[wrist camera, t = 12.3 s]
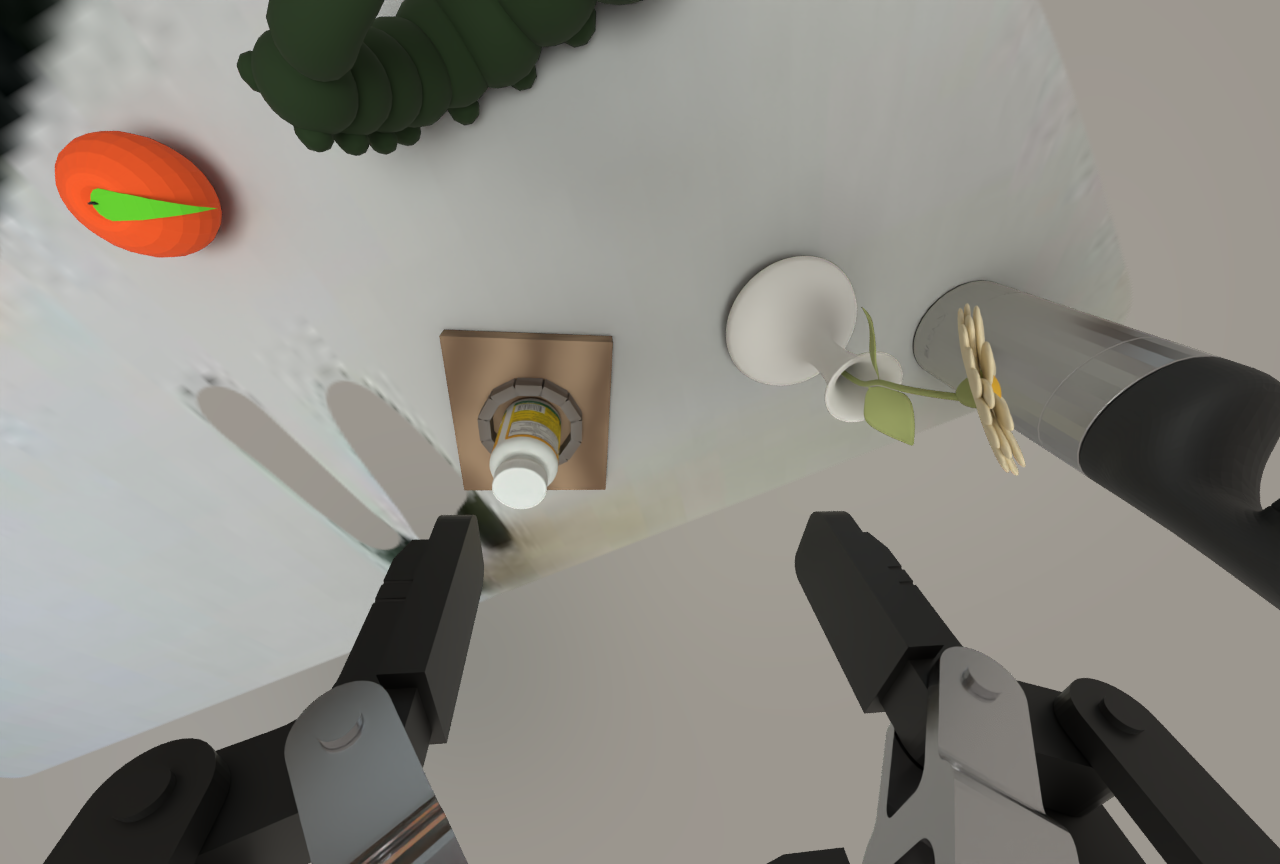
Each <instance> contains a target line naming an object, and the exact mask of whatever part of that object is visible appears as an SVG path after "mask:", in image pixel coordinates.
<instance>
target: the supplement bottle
mask: <svg viewBox="0 0 1280 864" xmlns="http://www.w3.org/2000/svg"><path fill="white" fill-rule="evenodd" d="M560 437H561V419H560V416H559V414H558V412H557V411H556V410H555V408H554V407H552V406H551V405H550V404H549V403H547V402H545V401H543V400H539V399H535V398H526V399H521V400H518V401H516V402H514V403H512V404H511V405H510V406H509V407H508V408H507V409H506V411H505V413H504V415H503V418H502V421H501V424H500V427H499V431H498V434H497V437H496V440H495V444H494V447H493V450H492V453H491V457H490V471H491V474H492V476H493V482H492V490H493V493H494V495H495V497H496V498H497V500H498V501H500V502H501V503H502V504H504V505H506V506H508V507H511V508H515V509H527V508H531V507H534V506H536V505H537V504H539V503H540V502H541V501H542V500H543V499H544V497H545V495H546V492H547V486H549V485H550V484H551V483H552V481H553V480H554V478H555V476H556V474H557V470H558V463H559V450H560Z"/></svg>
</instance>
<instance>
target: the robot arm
mask: <svg viewBox="0 0 1280 864" xmlns="http://www.w3.org/2000/svg"><path fill="white" fill-rule="evenodd" d="M965 304H969V306H970V312H971V317H972V319H973V310H974V307H975V306H978V307H979V309H980V313H981V317H982V320H983V325H984V336H985V341H987V342H989V344H990V346H991V349H992V353H993V357H994V360H995V364H996V376H995V377H996V378H997V380H998V382H999V384H1000V387H1001V396H1002V397H1003V398H1004V400H1005V401H1006V403H1007V405H1008V408H1009V411H1010V414H1011V416H1012V420H1013V423H1014V429H1015V430H1016V431H1018V432H1019V433H1021V434H1023V435H1024V436H1026V437H1027V438H1029V439H1030V440H1032V441H1033V442H1035V443H1036V444H1038V445H1039V446H1041V447H1042V448H1044V449H1045V450H1047V451H1048V452H1050V453H1052V454H1053V455H1055V456H1056V457H1058V458H1059V459H1061V460H1063V461H1064V462H1065V463H1067V464H1069V465H1070V466H1072V467H1073V468H1075V469H1076V470H1078V471H1079V472H1081V473H1082V474H1084V475H1085V476H1087V477H1088V478H1090V479H1092V480H1093V481H1095V482H1096V483H1098V484H1099V485H1101V486H1102V487H1104V488H1106V489H1107V490H1109V491H1110V492H1112V493H1114V494H1115V495H1117V496H1118V497H1120V498H1121V499H1123V500H1124V501H1126V502H1128V503H1129V504H1130V505H1132V506H1134V507H1135V508H1137V509H1138V510H1140V511H1141V512H1143V513H1144V514H1146V515H1147V516H1149V517H1150V518H1152V519H1153V520H1155V521H1156V522H1158V523H1159V524H1161V525H1162V526H1164V527H1165V528H1167V529H1168V530H1170V531H1171V532H1173V533H1174V534H1176V535H1177V536H1178V537H1180V538H1181V539H1183V540H1184V541H1185V542H1187V543H1188V544H1190V545H1191V546H1193V547H1194V548H1196V549H1197V550H1198V551H1200V552H1201V553H1202V554H1204V555H1205V556H1207V557H1208V558H1210V559H1211V560H1212V561H1214V562H1215V563H1216V564H1218V565H1219V566H1220V567H1222V568H1223V569H1225V570H1226V571H1227V572H1229V573H1230V574H1232V575H1233V576H1234V577H1235V578H1237V579H1238V580H1240V581H1241V582H1242V583H1244V584H1245V585H1246V586H1248V587H1249V588H1250V589H1252V590H1253V591H1255V592H1256V593H1257V594H1259V595H1260V596H1261V597H1263V598H1264V599H1265V600H1267V601H1268V602H1269V603H1271V604H1272V605H1274V606H1275V607H1276V608H1278V609H1279V610H1280V499H1278V500H1277V501H1275V502H1274V503H1273V504H1272V505H1271V506H1269V507H1267V508H1265V509H1264V510H1262V507H1261V504H1260V482H1261V478H1262V474H1263V470H1264V468H1265V465H1266V463H1267V460H1268V458H1269V456H1270V454H1271V452H1272V451H1273V449H1274V447H1275V445H1276V443H1277V441H1278V439H1279V437H1280V382H1279V381H1277V380H1276V379H1275V378H1273V377H1272V376H1270V375H1268V374H1266V373H1264V372H1261V371H1259V370H1257V369H1255V368H1251V367H1248V366H1245V365H1242V364H1239V363H1236V362H1233V361H1230V360H1227V359H1224V358H1221V357H1218V356H1215V355H1212V354H1209V353H1206V352H1203V351H1200V350H1197V349H1194V348H1191V347H1188V346H1185V345H1182V344H1179V343H1176V342H1173V341H1170V340H1167V339H1163V338H1160V337H1157V336H1154V335H1151V334H1148V333H1145V332H1142V331H1139V330H1136V329H1133V328H1130V327H1127V326H1124V325H1121V324H1118V323H1115V322H1112V321H1109V320H1106V319H1103V318H1100V317H1097V316H1094V315H1091V314H1088V313H1085V312H1082V311H1079V310H1076V309H1073V308H1070V307H1067V306H1064V305H1061V304H1058V303H1055V302H1052V301H1049V300H1046V299H1043V298H1040V297H1037V296H1034V295H1031V294H1028V293H1025V292H1022V291H1019V290H1016V289H1013V288H1010V287H1007V286H1004V285H1001V284H998V283H994V282H991V281H975V282H970V283H967V284H964V285H961V286H959V287H957V288H955V289H953V290H952V291H950V292H948V293H947V294H946V295H944V296H943V297H942V298H940V299H939V300H938V301H937V302H936V303H935V304H934V305H933V306H932V307H931V308H930V309H929V311H928V312H927V313H926V315H925V316H924V318H923V319H922V321H921V323H920V325H919V327H918V329H917V332H916V335H915V339H914V355H915V358H916V360H917V362H918V364H919V365H920V366H921V367H922V368H923V369H924V370H926V371H927V372H929V373H930V374H932V375H933V376H935V377H936V378H938V379H939V380H941V381H942V382H944V383H945V384H947V385H948V386H950V387H951V388H952V389H954V390H955V391H956V389H957V387H958V386H959V384H960V383H961V382H962V381H963V380H965V379H966V378H967V374H966V370H965V366H964V362H963V358H962V354H961V349H960V342H959V334H958V320H957V317H958V310H959V308H961V309H962V310H963V313H964V307H965ZM795 570H796V574H797V578H798V580H799V582H800V584H801V586H802V588H803V590H804V593H805V595H806V596H807V599H808V601H809V603H810V604H811V606H812V609H813V611H814V613H815V615H816V617H817V619H818V621H819V623H820V625H821V627H822V629H823V631H824V633H825V635H826V637H827V639H828V641H829V643H830V645H831V647H832V649H833V651H834V653H835V655H836V657H837V659H838V661H839V663H840V665H841V667H842V669H843V671H844V673H845V675H846V677H847V679H848V681H849V683H850V685H851V687H852V689H853V691H854V693H855V695H856V698H857V700H858V701H859V704H860V706H861V708H862V710H863V712H864V713H876V712H886V714H887V716H888V718H889V720H890V721H891V723H890V725H889V727H888V729H887V733H886V740H885V749H884V758H883V766H882V776H881V784H880V792H879V801H878V809H877V817H876V823H875V827H874V830H873V833H872V836H871V838H870V840H869V843H868V845H867V848H866V851H865V855H864V858H863V862H862V864H1146V863H1145V862H1144V860H1143V859H1142V858H1141V857H1140V855H1139V854H1138V852H1137V851H1136V850H1135V848H1134V847H1133V846H1132V844H1131V843H1130V842H1129V840H1128V839H1127V838H1126V836H1125V835H1124V834H1123V832H1122V831H1121V830H1120V828H1119V827H1118V825H1117V824H1116V823H1115V821H1114V820H1113V819H1112V817H1111V816H1110V815H1109V813H1108V812H1107V811H1106V809H1105V808H1104V807H1103V805H1102V804H1103V803H1105V802H1106V801H1108V800H1109V799H1111V798H1112V797H1114V796H1115V797H1116V798H1117V799H1118V800H1119V802H1120V803H1121V805H1122V806H1123V807H1124V808H1125V810H1126V811H1127V812H1128V814H1129V815H1130V816H1131V818H1132V819H1133V820H1134V821H1135V823H1136V824H1137V825H1138V826H1139V828H1140V829H1141V831H1142V832H1143V833H1144V834H1145V836H1146V837H1147V838H1148V840H1149V841H1150V842H1151V843H1152V845H1153V846H1154V847H1155V849H1156V850H1157V851H1158V853H1159V854H1160V855H1161V856H1162V858H1163V859H1164V860H1165V862H1166V863H1167V864H1280V848H1279V847H1278V846H1277V845H1276V844H1275V843H1274V842H1273V841H1272V840H1271V839H1270V838H1269V837H1268V836H1267V835H1266V834H1265V833H1264V832H1263V831H1262V829H1261V828H1260V827H1259V826H1258V825H1257V824H1256V823H1255V822H1254V821H1253V820H1252V819H1251V818H1250V817H1249V816H1248V815H1247V814H1246V813H1245V812H1244V810H1243V809H1242V808H1241V807H1240V806H1239V805H1238V804H1237V803H1236V802H1235V801H1234V800H1233V799H1232V798H1231V797H1230V796H1229V795H1228V794H1227V793H1226V792H1225V790H1224V789H1223V788H1222V787H1221V786H1220V785H1219V784H1218V783H1217V782H1216V781H1215V780H1214V779H1213V778H1212V777H1211V776H1210V775H1209V774H1208V772H1207V771H1205V769H1204V768H1203V767H1202V766H1201V765H1200V764H1199V763H1198V762H1197V761H1196V760H1195V759H1194V758H1193V757H1192V756H1191V755H1190V754H1189V752H1187V750H1186V749H1185V748H1184V747H1183V746H1182V745H1181V744H1180V743H1179V742H1178V741H1177V740H1176V739H1175V738H1174V737H1173V736H1172V735H1171V733H1170V732H1169V731H1168V730H1167V729H1166V728H1165V727H1164V726H1163V725H1162V724H1161V723H1160V722H1159V721H1158V720H1157V719H1156V718H1155V717H1154V716H1153V715H1152V714H1151V713H1150V712H1149V711H1148V710H1147V709H1146V708H1145V707H1144V706H1142V705H1141V704H1140V703H1139V702H1137V701H1136V700H1135V699H1133V698H1132V697H1131V696H1129V695H1127V694H1126V693H1124V692H1123V691H1121V690H1119V689H1117V688H1116V687H1114V686H1111V685H1109V684H1107V683H1104V682H1101V681H1099V680H1095V679H1090V678H1081V679H1077V680H1075V681H1074V682H1072V683H1071V684H1070V685H1069V686H1068V687H1067V688H1066V689H1065V690H1064V691H1063V692H1060V691H1056V690H1052V689H1048V688H1044V687H1040V686H1036V685H1032V684H1028V683H1025V682H1021V681H1017V680H1016V679H1015V678H1014V677H1013V676H1012V675H1011V674H1010V673H1009V672H1008V671H1007V670H1006V669H1005V668H1004V667H1003V666H1002V665H1000V664H999V663H998V662H996V661H995V660H993V659H992V658H990V657H988V656H987V655H985V654H983V653H981V652H979V651H976V650H974V649H970V648H967V647H963V646H962V645H961V644H960V643H959V641H958V640H957V639H956V637H955V636H954V635H953V634H952V632H951V631H950V630H949V628H948V627H947V625H946V624H945V623H944V621H943V620H942V619H941V618H940V616H939V615H938V614H937V612H936V611H935V610H934V608H933V607H932V606H931V604H930V603H929V602H928V600H927V599H926V598H925V596H924V595H923V594H922V592H921V591H920V590H919V588H918V587H917V586H916V585H913V581H912V579H911V578H910V577H909V575H908V574H907V573H906V571H905V570H902V569H901V565H900V564H899V562H898V561H897V559H896V558H895V557H894V555H893V554H892V553H891V551H890V550H889V549H888V548H887V547H886V546H885V545H883V544H882V543H881V542H880V541H879V540H877V539H876V538H875V537H873V536H872V535H871V534H870V533H868V532H862V530H861V529H860V528H859V526H858V525H857V524H856V522H855V521H854V519H853V518H852V517H851V515H850V514H848V513H847V512H844V511H833V512H832V511H831V512H830V511H828V512H813V513H812V514H811V516H810V518H809V520H808V523H807V526H806V528H805V531H804V534H803V536H802V539H801V542H800V545H799V547H798V550H797V553H796V556H795ZM483 577H484V562H483V555H482V548H481V541H480V535H479V528H478V521H477V517H476V516H475V515H441V516H439V517H438V519H437V521H436V523H435V526H434V528H433V531H432V533H431V536H430V538H429V540H412V541H411V542H410V543H409V544H408V545H407V546H406V547H405V548H404V549H403V550H402V551H401V552H400V553H399V554H398V555H397V556H396V557H395V558H394V559H393V561H392V563H391V565H390V568H389V570H388V572H387V574H386V576H385V578H384V584H383V585H381V587H380V589H379V592H378V594H377V596H376V598H375V603H373V605H372V607H371V609H370V611H369V613H368V615H367V618H366V620H365V622H364V624H363V626H362V628H361V631H360V633H359V635H358V637H357V639H356V641H355V644H354V646H353V648H352V650H351V652H350V655H349V657H348V659H347V661H346V663H345V666H344V668H343V670H342V672H341V674H340V676H339V678H338V680H337V682H336V683H335V684H334V686H333V687H332V689H331V690H329V691H327V692H326V693H324V694H323V695H321V696H320V697H318V698H317V699H316V700H315V701H313V702H312V703H311V704H310V705H309V706H308V707H307V708H306V709H305V710H304V711H303V713H302V714H301V715H300V716H299V717H298V718H297V719H296V720H294V721H293V722H291V723H289V724H287V725H285V726H282V727H280V728H278V729H275V730H272V731H270V732H267V733H264V734H261V735H259V736H256V737H253V738H250V739H248V740H245V741H242V742H240V743H237V744H234V745H231V746H228V747H225V748H223V749H220V750H217V751H215V750H214V749H213V748H212V747H211V746H210V745H209V744H208V743H207V742H204V741H202V740H199V739H193V738H191V739H179V740H174V741H170V742H167V743H164V744H161V745H159V746H157V747H154V748H152V749H150V750H148V751H147V752H144V753H143V754H141V755H139V756H138V757H136V758H134V759H133V760H131V761H130V762H128V763H127V764H125V765H124V766H123V767H121V769H119V770H118V771H116V772H115V773H114V774H113V775H112V776H111V777H109V778H108V779H107V780H106V781H105V782H104V783H103V784H102V785H101V786H100V787H99V788H98V789H97V790H96V791H95V793H93V795H92V796H91V797H90V798H89V800H88V801H87V802H86V804H85V805H84V806H83V808H82V809H81V810H80V812H79V813H78V815H77V816H76V818H75V819H74V820H73V822H72V823H71V825H70V826H69V828H68V829H67V830H66V832H65V833H64V835H63V836H62V838H61V839H60V840H59V842H58V843H57V845H56V846H55V848H54V849H53V850H52V852H51V853H50V855H49V856H48V857H47V859H46V860H45V862H44V863H43V864H308V863H312V864H468V863H467V860H466V858H465V856H464V854H463V852H462V850H461V847H460V845H459V843H458V841H457V839H456V837H455V834H454V832H453V830H452V828H451V826H450V824H449V822H448V819H447V817H446V815H445V813H444V811H443V810H442V808H441V806H440V805H439V803H438V801H437V798H436V797H435V794H434V792H433V790H432V788H431V786H430V784H429V781H428V779H427V777H426V775H425V773H424V771H423V765H424V761H425V758H426V753H427V750H428V746H429V744H442V743H447V739H448V735H449V731H450V726H451V722H452V717H453V713H454V708H455V704H456V700H457V696H458V691H459V687H460V682H461V678H462V674H463V669H464V665H465V661H466V656H467V652H468V647H469V643H470V639H471V634H472V630H473V625H474V621H475V617H476V613H477V608H478V604H479V600H480V595H481V591H482V586H483ZM767 864H850V863H849V861H848V858H847V855H846V853H845V850H844V848H835V849H827V850H818V851H809V852H801V853H792V854H785V855H782V856H780V857H778V858H777V859H775V860H773V861H771V862H769V863H767Z"/></svg>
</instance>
